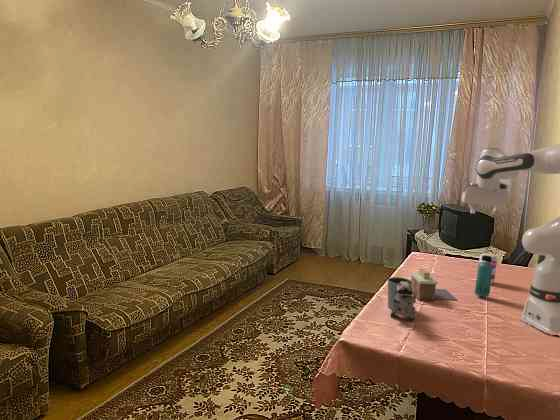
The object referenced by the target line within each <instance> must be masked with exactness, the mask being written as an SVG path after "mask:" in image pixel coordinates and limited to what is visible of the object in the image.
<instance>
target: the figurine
mask: <svg viewBox="0 0 560 420" xmlns="http://www.w3.org/2000/svg"><path fill="white" fill-rule="evenodd" d="M413 294H414V292H413V289H412V287H411V286H410V284H409V283H408V282H405V281H401V282H400V283H399V285H398V286H397V291H396V296H395V297H394V299H393V302H394V303H393V304H392V305H391V309H390V310H391V313H390V317H391V318H394V317H395V315H398V316H403V317H409V316H410V318H409V322H412V323H413V322H414V320H415V319H416V307H414V305H415V303H416V300H417V298H416V295H415V294H414V295H413Z"/></svg>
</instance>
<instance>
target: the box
mask: <svg viewBox="0 0 560 420" xmlns="http://www.w3.org/2000/svg"><path fill="white" fill-rule="evenodd" d="M410 280H411V281H412V282H413V284H412V289H413V292H414V294H415V295H416V300H418V301H423V300H426V302H434V301H435V298H434V297H435V289H437V288H436V285H437V284H420V283H419V282H418V281H417V280H416V279H415V278H414V277H413V276H411V279H410ZM414 294H413V295H414ZM413 295H412V296H413Z"/></svg>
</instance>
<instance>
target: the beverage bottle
mask: <svg viewBox="0 0 560 420" xmlns="http://www.w3.org/2000/svg"><path fill="white" fill-rule="evenodd" d="M482 260H483V261H489V262H490V261H491V256H487V255H483V256H482ZM477 267H478V268H477V273H476V280H475V281H476V282H475V288H474V294H475V295H477V296H480V297H489V296H490V291H491V286H492V285H490V284H491V277H492V269H493V266H492V264H491V263H488V262H481V263H479V262H478V265H477Z"/></svg>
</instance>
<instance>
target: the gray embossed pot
mask: <svg viewBox="0 0 560 420" xmlns="http://www.w3.org/2000/svg"><path fill="white" fill-rule="evenodd" d="M411 280H412V279H408V278H405V277H400V276H399V277H398V276H394V277H389V278H387V307H388V309H389V310H392V309H391V305H392V304H393V303H394V302H393V299H394V297H395V296H396V291H397V286H398V285H399V283H400V282H401V281H405V282H408V283H409V284H410V286H411V287H412V284H413V282H412V281H411Z"/></svg>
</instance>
